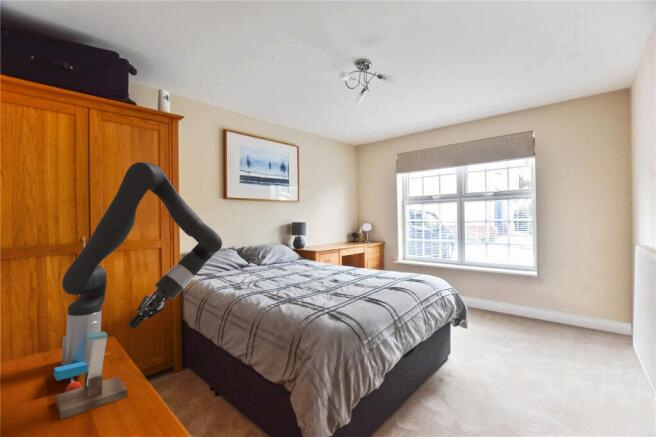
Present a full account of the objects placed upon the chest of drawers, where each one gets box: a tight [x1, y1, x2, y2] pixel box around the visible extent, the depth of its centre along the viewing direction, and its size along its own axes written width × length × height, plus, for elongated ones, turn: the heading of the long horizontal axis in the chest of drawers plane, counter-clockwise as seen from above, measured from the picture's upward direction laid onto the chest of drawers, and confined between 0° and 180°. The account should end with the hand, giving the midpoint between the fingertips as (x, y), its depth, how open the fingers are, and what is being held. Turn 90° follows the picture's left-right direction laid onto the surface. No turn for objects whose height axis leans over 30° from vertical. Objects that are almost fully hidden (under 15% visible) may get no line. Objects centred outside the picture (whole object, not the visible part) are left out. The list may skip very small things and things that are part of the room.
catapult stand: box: [55, 370, 128, 420], centre depth 82 cm, size 14×10×7 cm
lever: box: [53, 362, 89, 392], centre depth 90 cm, size 7×7×18 cm
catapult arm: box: [87, 330, 108, 386], centre depth 82 cm, size 4×4×14 cm
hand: (130, 327), depth 89 cm, fingers closed
